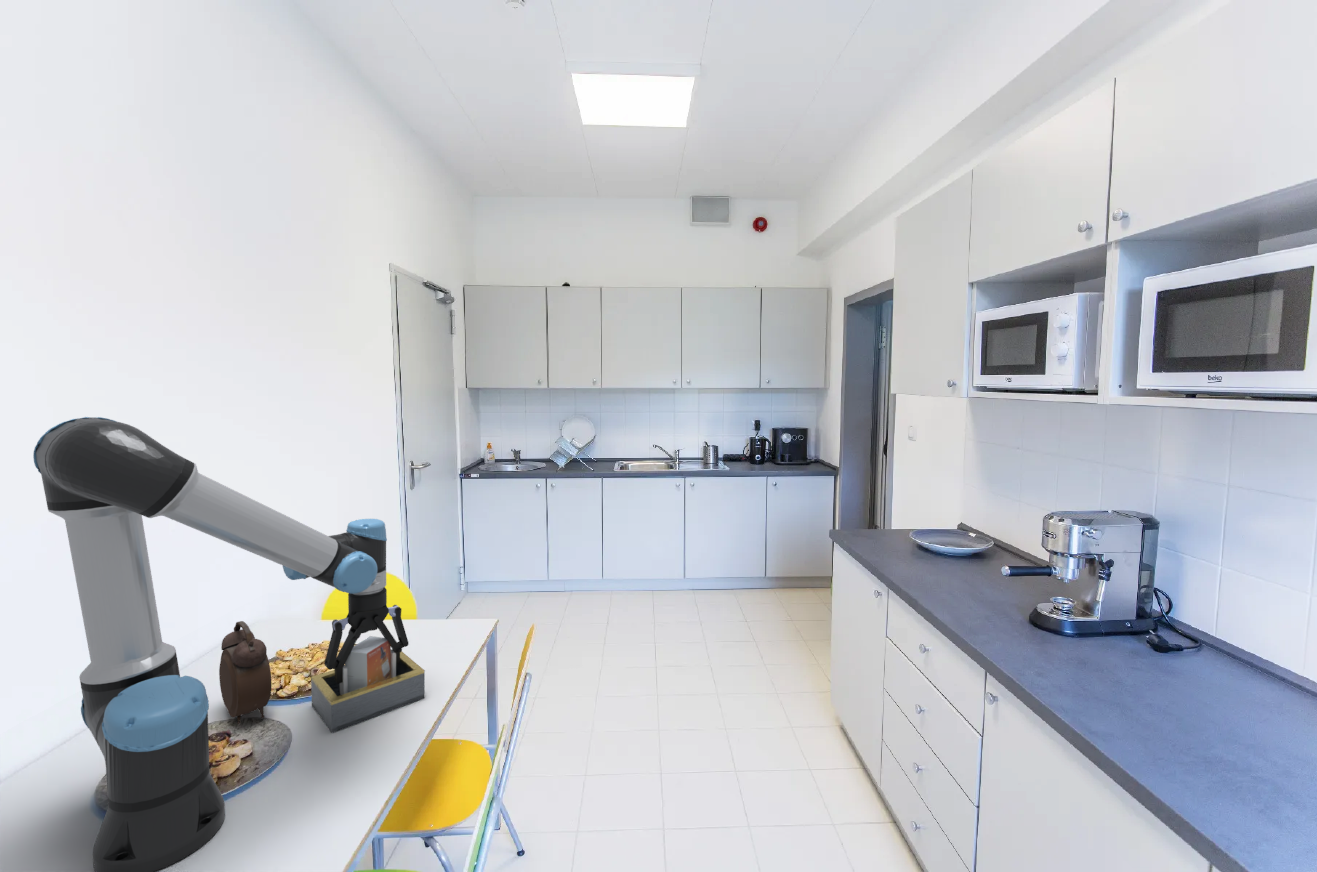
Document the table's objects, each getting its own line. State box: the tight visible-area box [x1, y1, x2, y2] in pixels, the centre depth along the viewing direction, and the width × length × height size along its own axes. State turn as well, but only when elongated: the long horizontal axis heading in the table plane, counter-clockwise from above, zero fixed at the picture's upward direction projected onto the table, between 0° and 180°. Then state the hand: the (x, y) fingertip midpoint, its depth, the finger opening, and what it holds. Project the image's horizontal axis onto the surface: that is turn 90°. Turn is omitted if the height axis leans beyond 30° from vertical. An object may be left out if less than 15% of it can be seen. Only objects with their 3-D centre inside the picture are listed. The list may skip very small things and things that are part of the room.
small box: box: [345, 635, 392, 693], centre depth 123 cm, size 8×6×10 cm
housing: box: [310, 650, 426, 734], centre depth 124 cm, size 19×14×7 cm
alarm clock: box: [218, 620, 273, 725], centre depth 117 cm, size 14×7×20 cm, turn 50°
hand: (368, 686), depth 123 cm, fingers closed on small box, 9 cm apart
